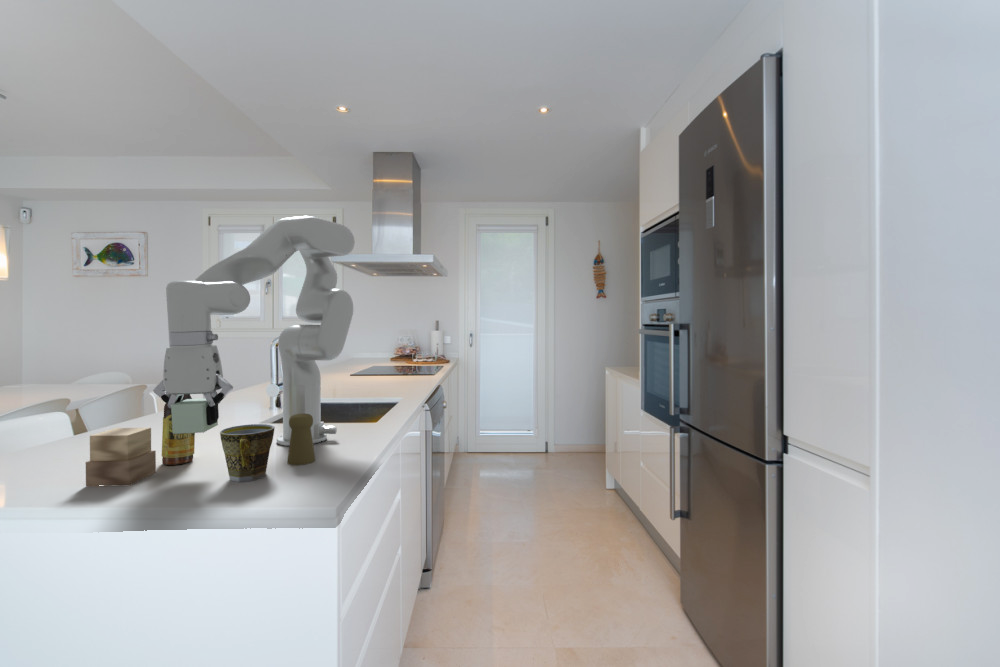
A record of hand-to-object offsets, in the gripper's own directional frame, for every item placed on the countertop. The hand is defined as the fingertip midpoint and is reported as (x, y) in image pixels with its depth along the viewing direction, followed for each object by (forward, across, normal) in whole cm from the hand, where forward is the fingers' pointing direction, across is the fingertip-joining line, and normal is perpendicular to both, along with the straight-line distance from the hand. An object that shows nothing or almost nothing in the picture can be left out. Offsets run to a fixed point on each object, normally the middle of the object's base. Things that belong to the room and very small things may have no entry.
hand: (195, 423), depth 100 cm
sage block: (+1, 0, 0) cm, 1 cm away
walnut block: (+10, +13, +3) cm, 17 cm away
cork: (+12, -19, -6) cm, 23 cm away
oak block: (+5, +13, +3) cm, 14 cm away
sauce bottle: (+11, +8, -8) cm, 16 cm away
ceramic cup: (+11, -12, +6) cm, 17 cm away
